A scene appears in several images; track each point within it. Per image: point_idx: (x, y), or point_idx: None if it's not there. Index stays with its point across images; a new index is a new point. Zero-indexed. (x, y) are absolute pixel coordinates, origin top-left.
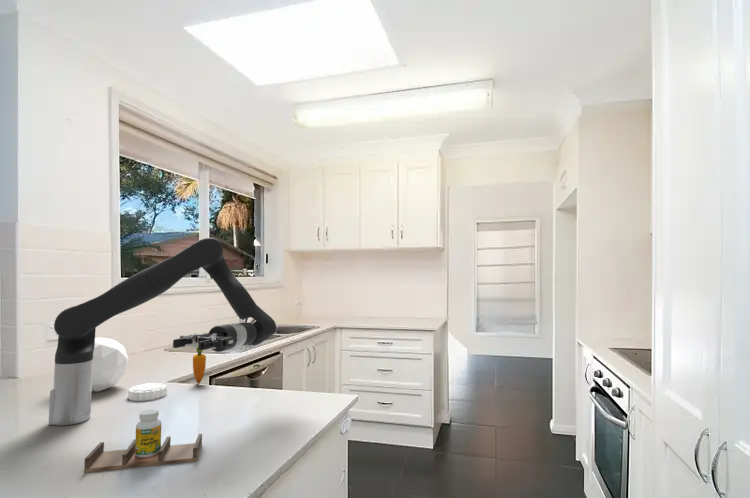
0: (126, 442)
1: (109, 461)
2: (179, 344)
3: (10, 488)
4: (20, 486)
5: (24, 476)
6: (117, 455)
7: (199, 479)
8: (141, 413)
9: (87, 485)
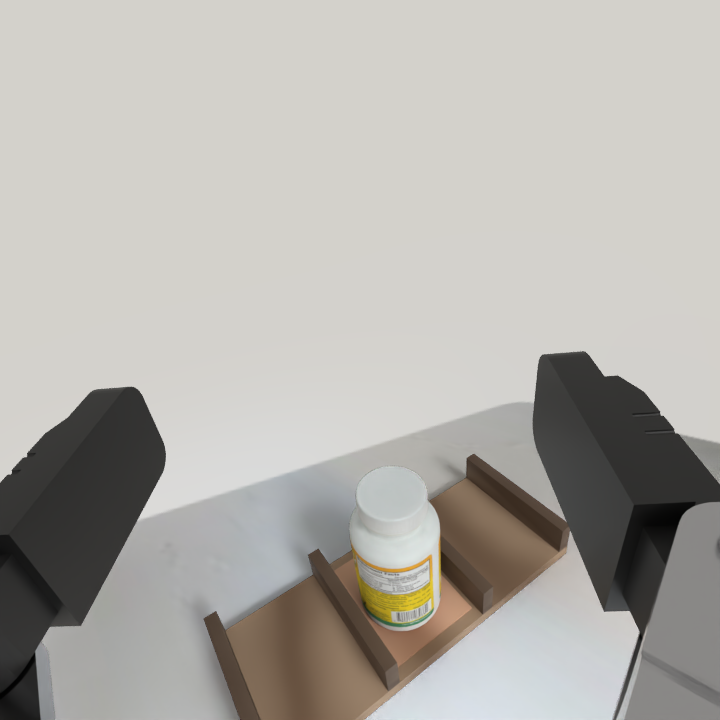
0: None
1: (461, 517)
2: (560, 465)
3: (528, 404)
4: (522, 412)
5: None
6: (483, 550)
7: (156, 560)
8: (405, 472)
9: (401, 455)
